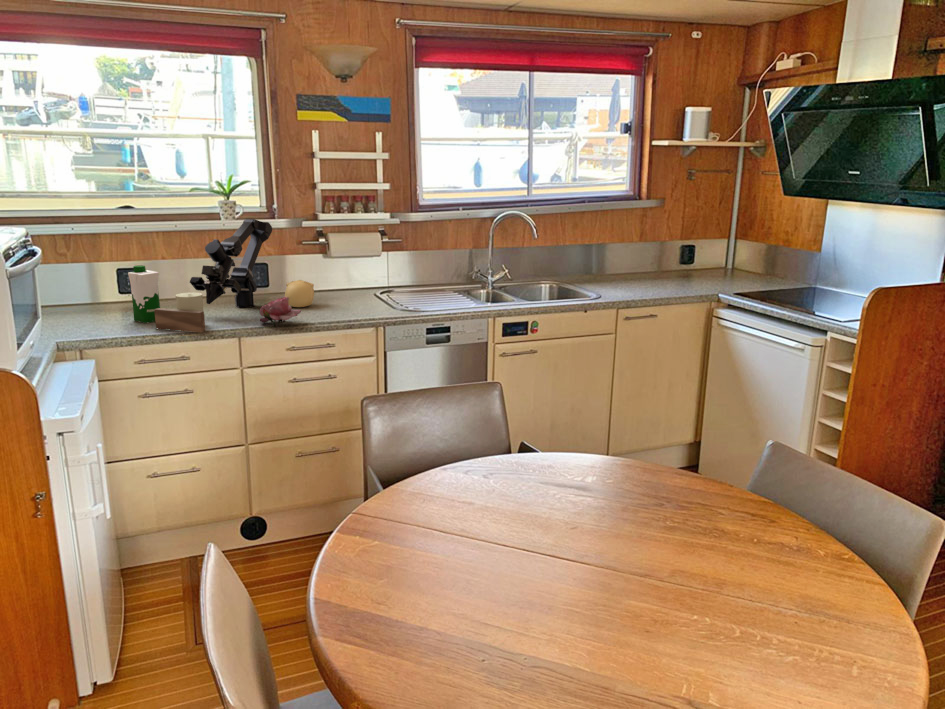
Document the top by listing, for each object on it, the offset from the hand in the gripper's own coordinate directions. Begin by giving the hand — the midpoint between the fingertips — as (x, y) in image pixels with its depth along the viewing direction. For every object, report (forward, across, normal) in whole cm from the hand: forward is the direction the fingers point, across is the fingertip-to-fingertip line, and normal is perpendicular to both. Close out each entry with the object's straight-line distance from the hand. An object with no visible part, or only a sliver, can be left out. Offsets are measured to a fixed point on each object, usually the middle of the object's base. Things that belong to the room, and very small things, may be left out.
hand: (207, 303), depth 285 cm
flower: (+4, +29, +5) cm, 30 cm away
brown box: (+17, 0, -9) cm, 19 cm away
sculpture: (-18, +21, +28) cm, 40 cm away
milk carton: (+10, -20, -1) cm, 23 cm away
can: (+12, 0, -4) cm, 13 cm away
